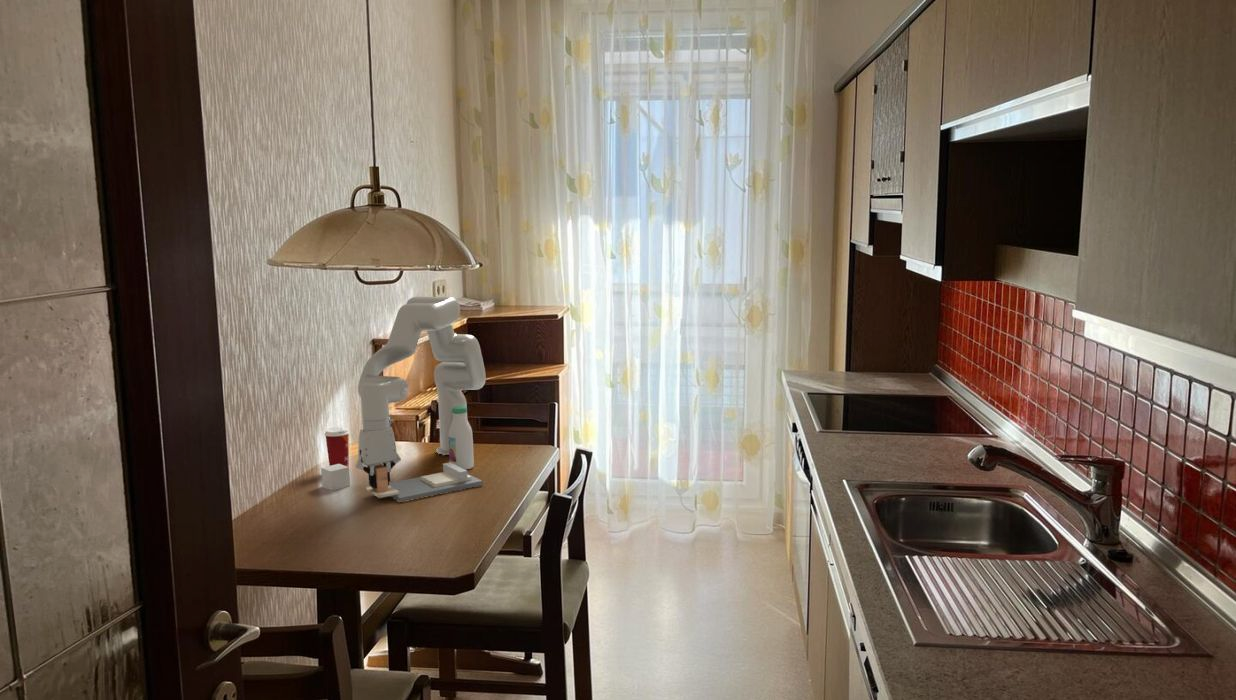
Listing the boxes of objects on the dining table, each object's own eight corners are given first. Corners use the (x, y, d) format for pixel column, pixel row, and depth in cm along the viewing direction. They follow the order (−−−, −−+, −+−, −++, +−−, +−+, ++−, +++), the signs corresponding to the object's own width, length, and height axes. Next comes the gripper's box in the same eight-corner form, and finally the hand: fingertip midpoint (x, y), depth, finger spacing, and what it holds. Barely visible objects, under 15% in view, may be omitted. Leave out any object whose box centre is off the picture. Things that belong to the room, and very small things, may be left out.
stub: (366, 489, 257) (364, 464, 256) (386, 485, 260) (384, 460, 259) (379, 498, 249) (377, 471, 248) (399, 494, 252) (397, 467, 251)
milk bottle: (475, 464, 289) (472, 404, 286) (472, 470, 281) (469, 409, 278) (451, 464, 288) (449, 405, 285) (448, 471, 281) (445, 410, 278)
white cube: (332, 490, 263) (330, 471, 262) (322, 487, 267) (320, 467, 266) (350, 486, 267) (349, 467, 266) (340, 482, 271) (339, 463, 270)
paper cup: (355, 472, 282) (352, 429, 280) (331, 476, 277) (328, 433, 275) (346, 467, 288) (344, 425, 286) (323, 471, 283) (320, 429, 281)
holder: (379, 489, 262) (378, 473, 262) (458, 473, 278) (458, 458, 277) (400, 503, 250) (399, 486, 249) (482, 485, 265) (481, 469, 264)
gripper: (398, 417, 259) (401, 478, 262) (343, 426, 250) (347, 488, 252) (408, 422, 253) (411, 484, 256) (352, 431, 243) (356, 495, 246)
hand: (379, 485), depth 254 cm, fingers closed on stub, 3 cm apart
